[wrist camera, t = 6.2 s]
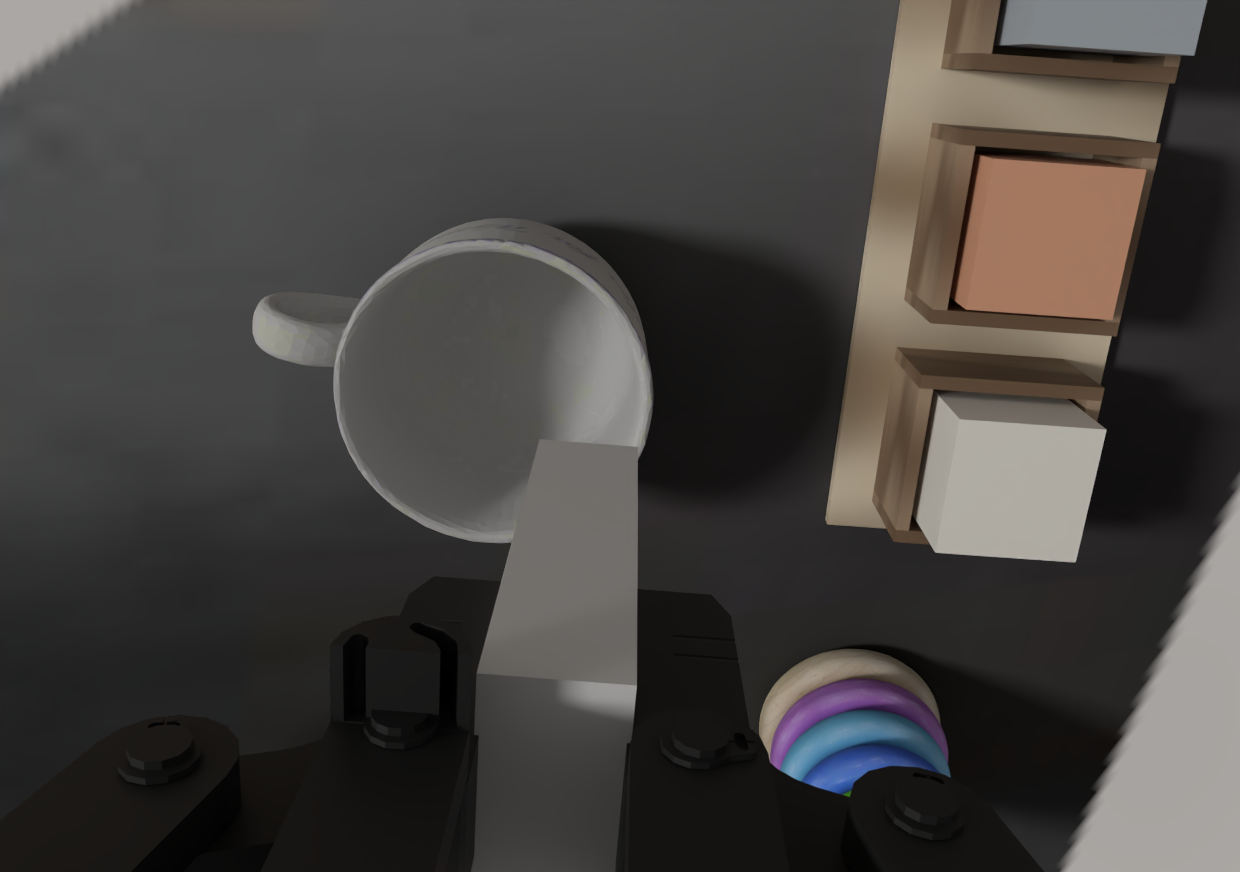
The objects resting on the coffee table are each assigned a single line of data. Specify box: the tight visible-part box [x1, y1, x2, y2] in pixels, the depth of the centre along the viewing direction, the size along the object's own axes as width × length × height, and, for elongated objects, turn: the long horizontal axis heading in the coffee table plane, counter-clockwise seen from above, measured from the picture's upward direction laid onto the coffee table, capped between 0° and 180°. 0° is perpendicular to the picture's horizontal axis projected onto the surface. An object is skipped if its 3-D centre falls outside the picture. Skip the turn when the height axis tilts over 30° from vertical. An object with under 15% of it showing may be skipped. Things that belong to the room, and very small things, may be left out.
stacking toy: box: [759, 649, 951, 797], centre depth 39 cm, size 8×8×19 cm
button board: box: [825, 0, 1181, 544], centre depth 38 cm, size 26×10×4 cm, turn 176°
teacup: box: [253, 218, 654, 543], centre depth 39 cm, size 14×11×8 cm
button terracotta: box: [949, 151, 1146, 320], centre depth 37 cm, size 5×5×4 cm
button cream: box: [912, 389, 1107, 562], centre depth 39 cm, size 5×5×4 cm
